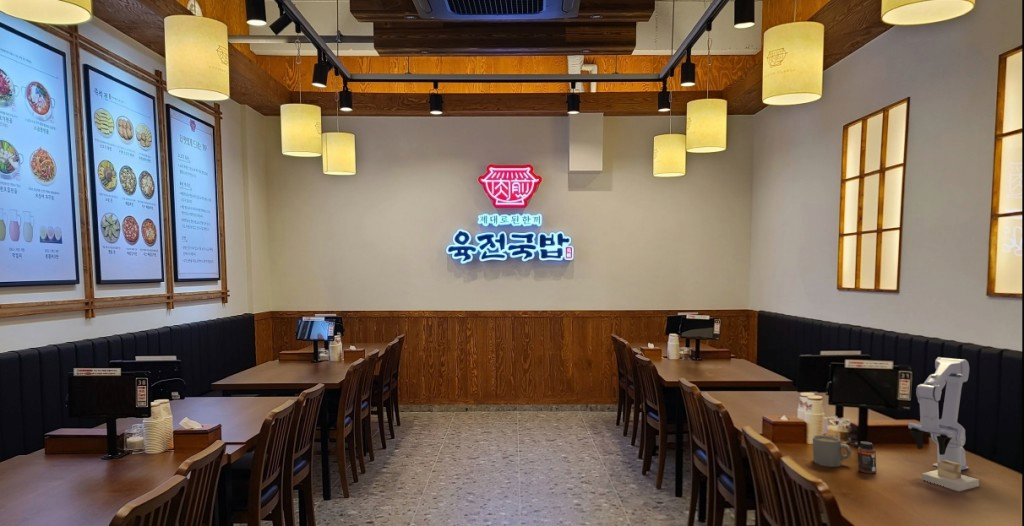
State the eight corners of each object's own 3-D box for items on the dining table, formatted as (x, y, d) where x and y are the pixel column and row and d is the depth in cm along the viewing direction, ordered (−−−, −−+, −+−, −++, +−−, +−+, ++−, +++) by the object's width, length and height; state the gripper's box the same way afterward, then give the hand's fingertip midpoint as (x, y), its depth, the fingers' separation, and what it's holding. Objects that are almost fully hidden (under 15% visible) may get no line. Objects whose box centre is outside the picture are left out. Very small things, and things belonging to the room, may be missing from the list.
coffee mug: (812, 464, 218) (812, 439, 218) (814, 457, 226) (813, 433, 226) (851, 470, 210) (850, 444, 211) (851, 462, 219) (850, 438, 219)
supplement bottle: (879, 474, 205) (878, 445, 205) (862, 473, 206) (861, 444, 207) (872, 469, 211) (871, 440, 211) (855, 468, 212) (854, 440, 212)
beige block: (941, 476, 204) (941, 468, 204) (978, 487, 192) (978, 479, 193) (922, 481, 199) (921, 473, 199) (958, 492, 188) (958, 484, 188)
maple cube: (945, 473, 199) (944, 459, 199) (961, 477, 195) (960, 463, 195) (937, 475, 197) (937, 461, 197) (953, 479, 193) (952, 465, 193)
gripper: (902, 413, 209) (904, 447, 208) (944, 421, 196) (946, 458, 195) (914, 411, 212) (915, 445, 211) (955, 419, 198) (957, 455, 198)
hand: (931, 451), depth 203 cm, fingers open, 7 cm apart
